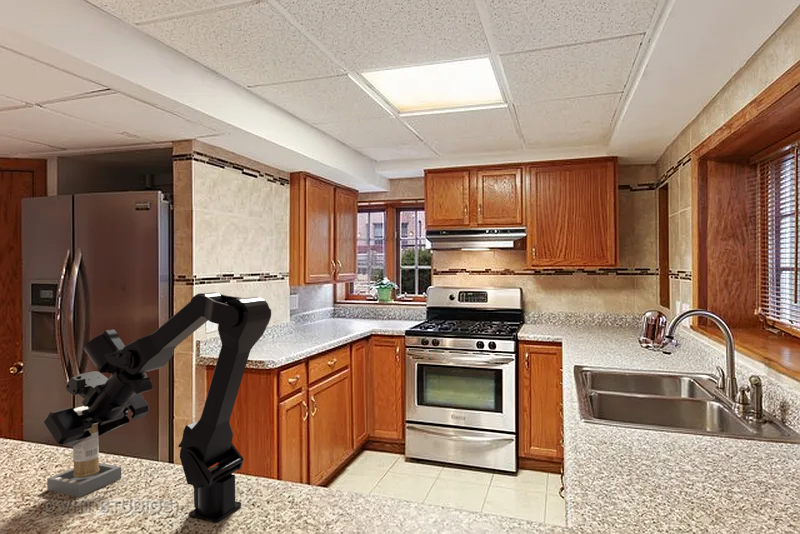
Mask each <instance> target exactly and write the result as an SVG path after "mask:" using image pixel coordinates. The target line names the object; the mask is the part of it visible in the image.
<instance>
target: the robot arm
mask: <svg viewBox="0 0 800 534" xmlns="http://www.w3.org/2000/svg"><path fill="white" fill-rule="evenodd" d="M271 318H272V309H271V308H270V306H269V303H268V302H267V301H266V300H265V299H264V298H262V297H260V296H251V297H239V296H232V295H226V294H222V293H218V292H215V291H214V292H203V293H196V294H195V295H193V296H192V298H191V299H190V301H189V302H188V303H187V304H186V305H184V306H183V307H182V308H181V309H179V311H177V312H176V313H175V314H174V315H172V316H171V317H170V318H169V319H168V320H166V322H164V323H163V324H162V325H161V326H160V327H158V328H157V329H156V330H155V331H154V332H152V333H150V334H148V335H145V336H143V337H139V338H137V339H135V340H133V341H132V342H129V343H128V344H126V345H125V344H124V342H123V341H122V339H121V338H120V337H119V334H118V333H117V331H116V330H115V329H108V330H104V331H103V332H102V333H101V334H99V335H97V336H95V337H94V338H92V339H90V341H87V342H86V344H85V345H84V347H83V350H84V352H85V353H86V354H87V356H88V358H89V359H90V361H91V362H92V363H93V365H94V366H95V368H96V369H97V371H96V370H95V371H94V370H93V371H89V372H84V373H78V374H77V375H76V376H72V377H71V378H70V379H69V380H68V381H67V383H66V385H65V389H66V391H67V392H68V393H69V394H71V395H72V396H77V395H79V396H80V397H82V398H83V400H82V401H81V404H82V405H83V406H85V407H88V409H86V410H83V411H82V412H81V413H82V414H83V415H80V416H79V415H78V414H77V412H75V411H74V409H75V408H73V407H64V408H60V409H57V410H53V411H50V412H49V413H48V414H47V415H46V417H45V419H44V420H43V423H44V425H45V426H46V428H47V429H48V431H49V432H50V434H51V436H52V438H53V439H54V441H55V443H56V444H58V445H61V446H64V445H66V444H68V446H69V447H70V448H71V447H72V448H73V446H74V445H76V444H78V443H79V442H81V441H83V440H85V439H86V438H88V437H90V436H91V433H90V432H89V429H91V428H92V425H94V424H97V423H98V438H99V437H100V436H103V435H105V434H107V433H109V432H111V431H113V430H117V429H118V428H121V427H122V426H124V425H127V424H129V423H130V419H129V417H128V412H130V411H131V412H132V415H131V416H130V417H131V419H132V420H133V421H136V420H139V419H142V418H144V417H146V415H147V414H148V412H149V410H150V407H149V406H150V405H149V403H148V402H147V401H146V399H145V397H144V396H143V395H142V393H145V392H146V393H147V392H149V391H150V392H151V391H152V390H153V389H154V386H153V383H152V381H151V377H150V376H148V375H147V372H152V371H155V370H159V369H162V368H164V366H166V365H167V364H168V363H169V361H170V360H171V358H173V356H174V354H175V349H177V346H179V345H180V344H181V343H183V341H185V340H186V339H187V338H188V337H190V336H191V335H192V334H193V333H195V332H196V331H197V330H198V329H199V328H200V327H202V326H203V325H204V324H206V323H207V322H208V321H209V322H210V323H213V324H217V332H218V335H219V338H220V342H221V345H220V346H221V347H220V351H219V354H218V357H217V361H216V364H215V367H214V371H213V375H212V379H211V382H210V385H209V387H208V391H207V395H206V399H205V400H204V401H205V402H204V406H203V409H202V412H201V415H200V418H199V419H198V420H196V421H194V422H192V423H189V424H187V425H185V427H184V428H183V432H182V438H181V441H180V443H179V444H178V448H180V449H179V459H180V463H181V465H182V469H183V473H184V478H185V480H186V483H187V485H190V486H192V488H193V507H194V509H192V510H191V511H189V512H188V517H191V518H196V519H200V520H205V521H209V522H214V523H218V522H220V521H221V520H223V519H224V518H226V517H228V515H230V514H231V513H233V512H234V511H236V510H237V509H239V508H240V507H241V506H242V502H241V501H236V475H235V474H234V473H236V472H237V471H239V470H241V469H242V468H243V463H244V457H243V456H242V455H241V453H240V451H239V450H238V449H237V448H236V447H235V445H234V444H233V436H234V432H233V429H232V426H231V424H230V423H231V422H230V420H231V416H232V413H233V409H234V406H235V403H236V400H237V397H238V393H239V389H240V387H241V383H242V379H243V376H244V373H245V370H246V366H247V363H248V359H249V355H250V352H251V350H252V349H253V347H254V346H255V345H256V343H258V342H259V340H260V338H261V337H262V336H263V335H264V333H265V331H266V330H267V327H268V325H269V324H270V322H271V321H270V320H271ZM103 373H104V374H105V373H107V374H111V375H110V376H109V377H107V376H105V375H104V374H103Z"/></svg>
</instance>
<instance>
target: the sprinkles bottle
mask: <svg viewBox="0 0 800 534" xmlns="http://www.w3.org/2000/svg"><path fill="white" fill-rule="evenodd" d="M73 409H74V411H75V412H77V414H78V415H79V416H80V415H83V414H82V413H81V412H82V411H83V410H86V409H88V407H85V406H84V405H83V406H78V407H75V408H73ZM89 432H90V433H91V436H90V437H88V438H86V439H85V440H83V441H81V442H79V443H78V444H76V445H74V446H72V455H73V456H72V459H73V468H74V474H73V476H74V477H76V478H85V477H90V476H92V475H95V474H96V473H98V472H99V470H100V469H99V463H100V461H99V459H100V458H99V457H100V455H99V451H100V450H99V449H100V448H99V437H98V423H97V424H94V425H92V428H91V429H89Z"/></svg>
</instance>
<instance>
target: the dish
mask: <svg viewBox="0 0 800 534" xmlns="http://www.w3.org/2000/svg"><path fill="white" fill-rule="evenodd" d="M99 469H100V470H99V472H98V473H96V474H95V475H92V476H90V477H85V478H76V477H74V476H73V474H74V467H72V468H70V469H68V470H66V471H63V472H60V473H58V474H54V475H53V476H50V477H47V478H46V479H47V482H46V483H47V491H50V492H55V493H59V494H63V495H67V496H71V497H77V498H81V497H83V496H85V495H87V494H90V493H92V492H94V491H97V490H98V489H101V488H103V487H104V486H107V485H109V484H111V483H113V482H116V481H118V480H120V479H122V466H117V465H115V464H114V465H113V464H107V463H102V462H99Z"/></svg>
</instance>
